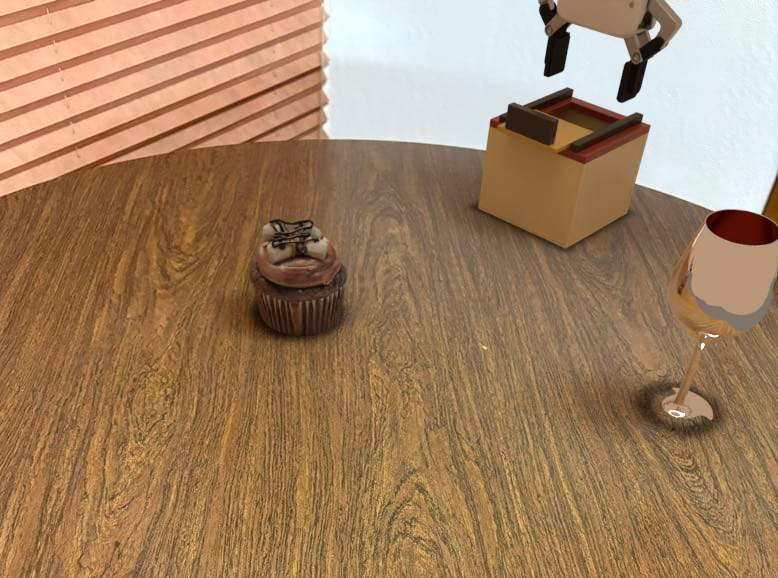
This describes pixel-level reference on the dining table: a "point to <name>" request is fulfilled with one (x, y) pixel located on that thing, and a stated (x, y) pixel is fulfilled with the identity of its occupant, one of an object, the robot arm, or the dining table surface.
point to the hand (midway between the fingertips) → (588, 86)
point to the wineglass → (721, 289)
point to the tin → (564, 172)
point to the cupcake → (298, 279)
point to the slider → (540, 128)
